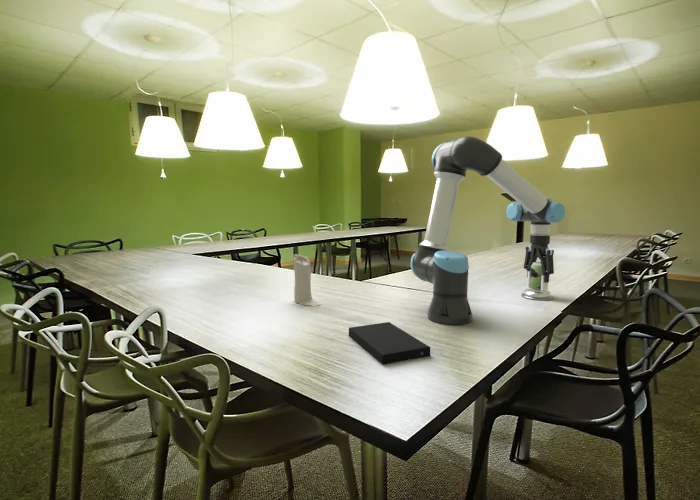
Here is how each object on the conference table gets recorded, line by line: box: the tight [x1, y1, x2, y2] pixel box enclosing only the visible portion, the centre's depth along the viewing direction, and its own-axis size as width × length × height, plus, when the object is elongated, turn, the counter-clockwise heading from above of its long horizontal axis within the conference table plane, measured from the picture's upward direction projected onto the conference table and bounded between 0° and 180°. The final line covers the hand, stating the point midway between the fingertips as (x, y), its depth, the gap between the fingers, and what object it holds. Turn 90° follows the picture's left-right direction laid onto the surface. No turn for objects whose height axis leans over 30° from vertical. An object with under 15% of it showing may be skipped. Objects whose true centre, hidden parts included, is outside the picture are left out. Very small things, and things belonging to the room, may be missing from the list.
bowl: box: [521, 288, 553, 302], centre depth 163 cm, size 12×12×2 cm
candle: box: [293, 253, 321, 307], centre depth 157 cm, size 7×14×20 cm, turn 41°
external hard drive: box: [348, 321, 431, 366], centre depth 110 cm, size 14×23×3 cm, turn 22°
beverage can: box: [528, 261, 543, 291], centre depth 162 cm, size 6×7×12 cm
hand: (537, 287), depth 163 cm, fingers open, 7 cm apart
